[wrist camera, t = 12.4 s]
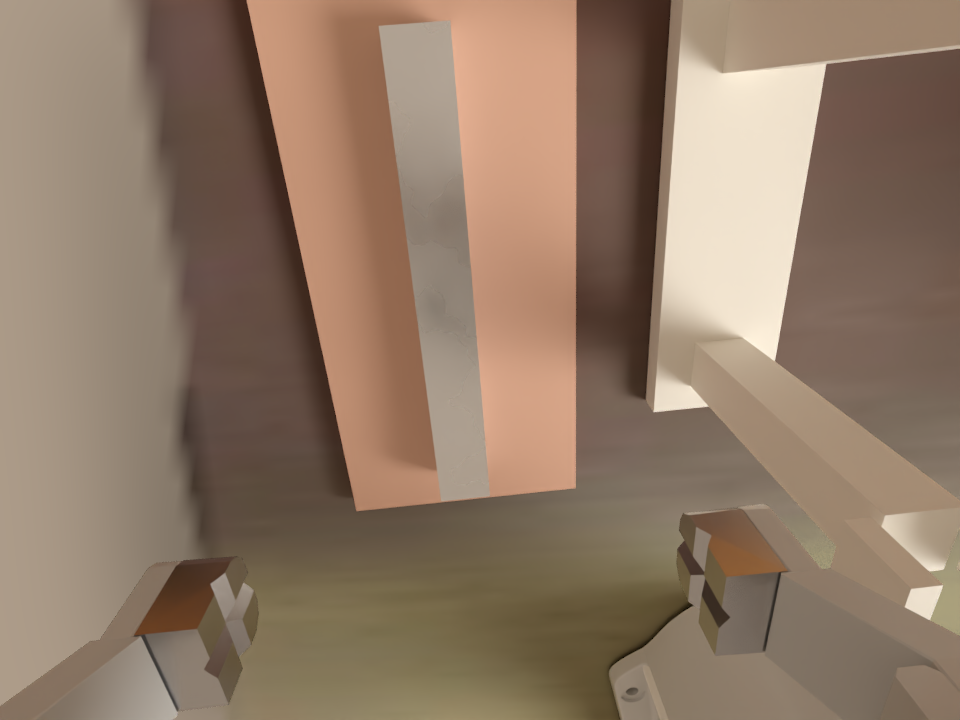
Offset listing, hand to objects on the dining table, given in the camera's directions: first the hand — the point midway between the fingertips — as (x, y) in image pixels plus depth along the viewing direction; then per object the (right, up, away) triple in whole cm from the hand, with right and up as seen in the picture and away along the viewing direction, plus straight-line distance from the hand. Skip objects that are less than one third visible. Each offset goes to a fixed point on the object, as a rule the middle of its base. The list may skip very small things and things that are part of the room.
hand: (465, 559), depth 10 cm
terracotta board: (-1, +7, +15) cm, 17 cm away
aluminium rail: (-1, +7, +14) cm, 16 cm away
